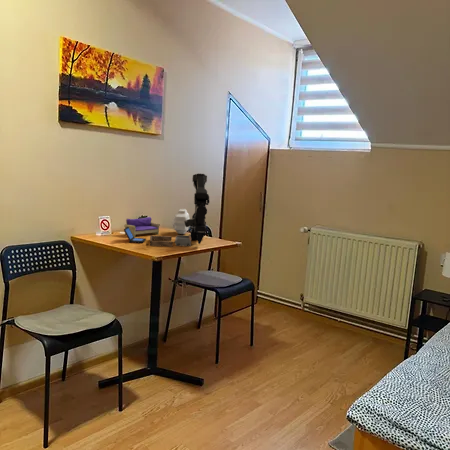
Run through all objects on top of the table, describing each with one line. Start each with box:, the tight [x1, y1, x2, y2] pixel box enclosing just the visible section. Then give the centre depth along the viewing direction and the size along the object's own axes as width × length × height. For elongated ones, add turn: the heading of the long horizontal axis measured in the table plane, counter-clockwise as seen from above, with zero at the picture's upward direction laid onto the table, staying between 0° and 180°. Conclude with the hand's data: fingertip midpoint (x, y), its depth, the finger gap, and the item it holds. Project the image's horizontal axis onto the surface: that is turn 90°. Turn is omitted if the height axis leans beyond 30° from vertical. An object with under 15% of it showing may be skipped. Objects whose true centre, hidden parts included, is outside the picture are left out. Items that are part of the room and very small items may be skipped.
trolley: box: [174, 233, 192, 247], centre depth 254 cm, size 8×12×5 cm, turn 8°
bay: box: [149, 235, 173, 248], centre depth 252 cm, size 12×18×2 cm, turn 8°
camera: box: [171, 208, 191, 235], centre depth 289 cm, size 11×18×16 cm, turn 178°
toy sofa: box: [124, 216, 161, 238], centre depth 275 cm, size 21×9×10 cm, turn 142°
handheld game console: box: [123, 227, 147, 244], centre depth 253 cm, size 12×11×7 cm
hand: (198, 242), depth 255 cm, fingers open, 9 cm apart
